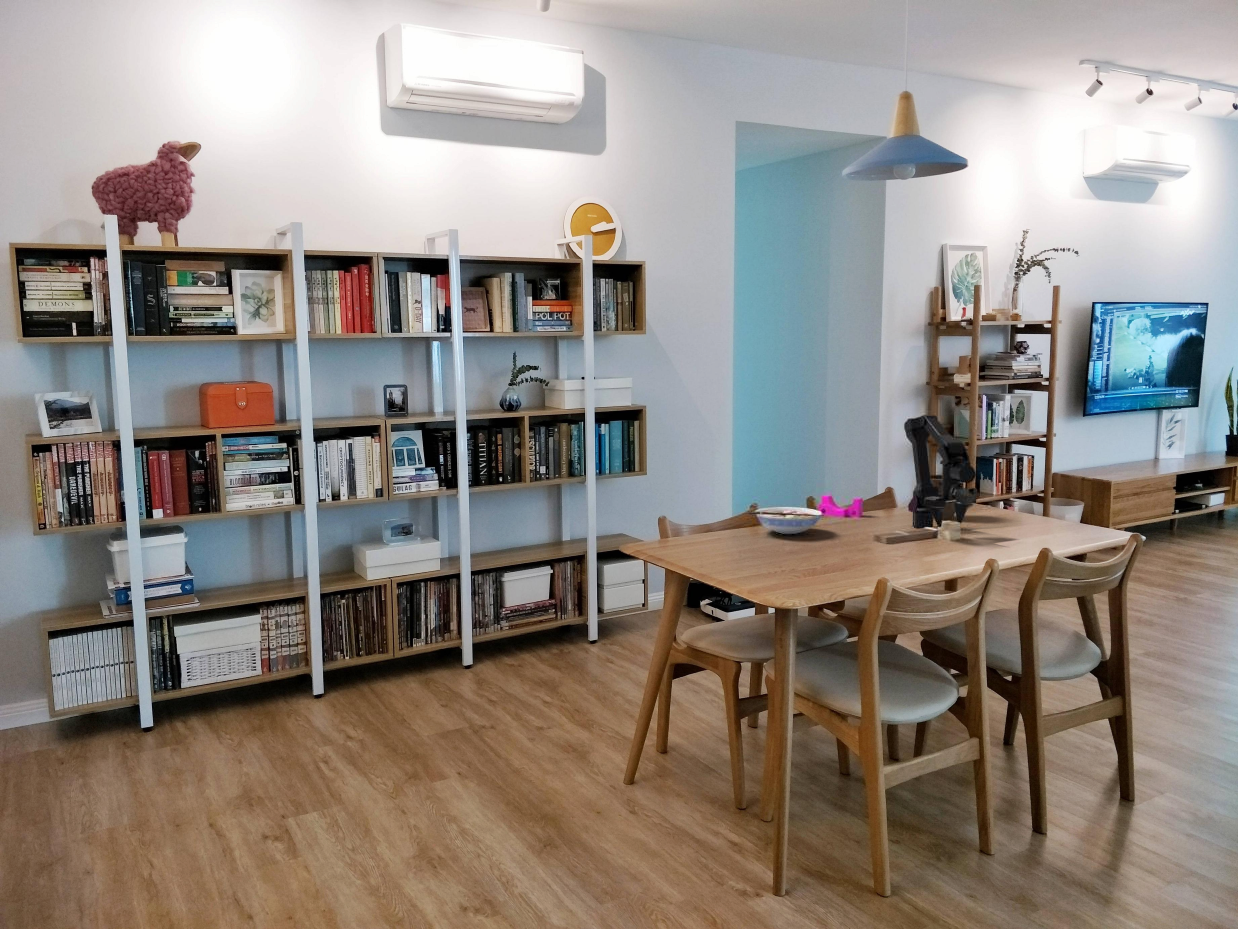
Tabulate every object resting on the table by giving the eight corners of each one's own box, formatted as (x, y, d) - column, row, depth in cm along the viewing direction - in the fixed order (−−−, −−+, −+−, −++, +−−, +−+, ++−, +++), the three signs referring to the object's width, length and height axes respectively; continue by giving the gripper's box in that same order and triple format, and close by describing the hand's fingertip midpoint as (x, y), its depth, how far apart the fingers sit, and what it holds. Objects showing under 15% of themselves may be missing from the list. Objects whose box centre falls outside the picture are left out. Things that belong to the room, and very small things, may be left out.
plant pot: (911, 517, 363) (913, 475, 361) (945, 515, 367) (947, 473, 365) (936, 524, 349) (937, 480, 347) (971, 522, 353) (972, 478, 351)
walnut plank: (872, 540, 320) (873, 534, 320) (934, 532, 334) (934, 526, 333) (886, 543, 315) (886, 537, 315) (947, 535, 328) (947, 528, 328)
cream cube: (935, 537, 325) (935, 521, 324) (945, 536, 327) (946, 520, 327) (949, 540, 319) (949, 524, 319) (960, 539, 322) (960, 522, 321)
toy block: (818, 516, 369) (818, 496, 368) (825, 514, 374) (825, 494, 373) (855, 520, 360) (856, 500, 359) (862, 518, 365) (862, 498, 364)
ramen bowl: (827, 528, 342) (827, 506, 341) (822, 541, 320) (823, 516, 319) (756, 526, 349) (756, 503, 348) (747, 537, 327) (747, 513, 326)
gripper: (950, 484, 309) (948, 532, 311) (990, 480, 318) (988, 527, 320) (923, 480, 319) (922, 527, 320) (963, 476, 327) (961, 521, 329)
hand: (949, 525), depth 322 cm, fingers open, 9 cm apart
